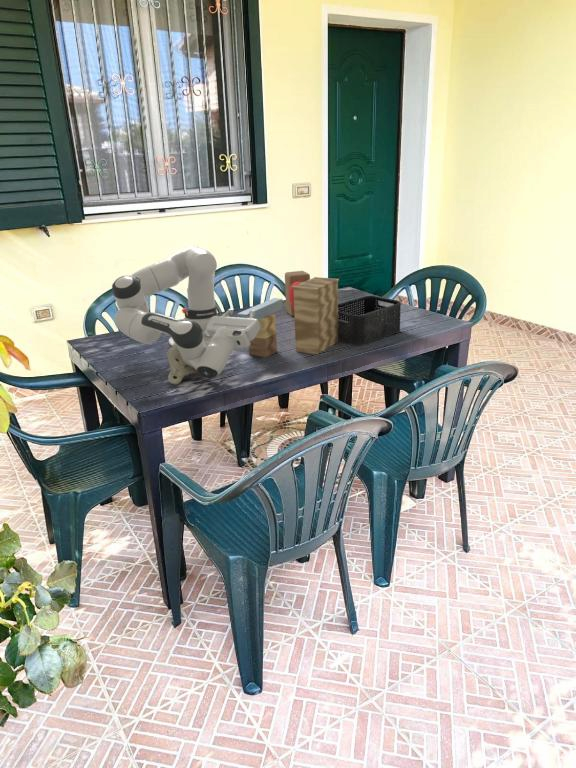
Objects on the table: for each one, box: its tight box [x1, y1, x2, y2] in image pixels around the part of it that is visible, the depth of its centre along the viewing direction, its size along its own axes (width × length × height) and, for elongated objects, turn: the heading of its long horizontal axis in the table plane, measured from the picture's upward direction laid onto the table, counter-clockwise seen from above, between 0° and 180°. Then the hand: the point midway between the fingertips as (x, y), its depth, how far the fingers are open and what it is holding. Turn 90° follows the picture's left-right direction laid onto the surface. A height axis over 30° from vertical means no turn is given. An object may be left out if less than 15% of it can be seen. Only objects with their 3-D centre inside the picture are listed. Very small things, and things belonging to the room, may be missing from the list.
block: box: [284, 270, 311, 318], centre depth 278 cm, size 10×10×20 cm
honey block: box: [256, 313, 277, 339], centre depth 224 cm, size 8×8×8 cm
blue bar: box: [237, 297, 283, 320], centre depth 222 cm, size 26×4×4 cm, turn 150°
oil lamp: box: [166, 345, 197, 385], centre depth 206 cm, size 21×14×5 cm
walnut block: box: [248, 332, 278, 358], centre depth 227 cm, size 8×8×8 cm
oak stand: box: [293, 276, 340, 355], centre depth 229 cm, size 19×11×26 cm, turn 150°
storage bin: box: [338, 295, 402, 346], centre depth 243 cm, size 29×19×13 cm
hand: (241, 311), depth 210 cm, fingers open, 8 cm apart
